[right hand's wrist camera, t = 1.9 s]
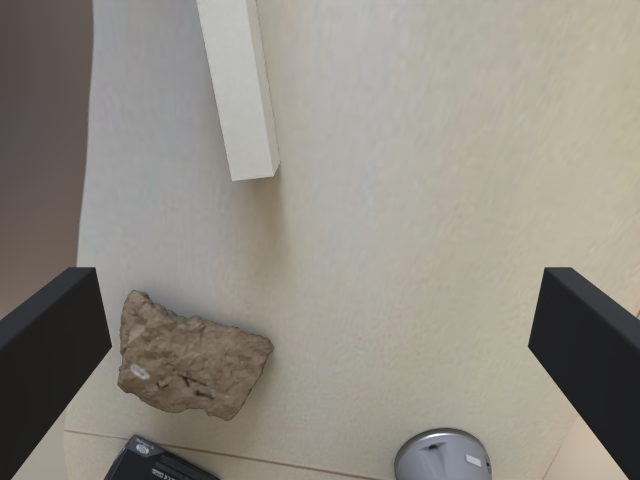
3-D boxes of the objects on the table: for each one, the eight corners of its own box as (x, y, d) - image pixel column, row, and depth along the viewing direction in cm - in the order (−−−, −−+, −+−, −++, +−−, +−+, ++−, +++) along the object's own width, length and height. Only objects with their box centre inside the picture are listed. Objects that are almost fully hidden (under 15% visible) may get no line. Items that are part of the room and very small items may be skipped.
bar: (280, 162, 52) (273, 176, 45) (244, 167, 53) (231, 181, 45) (247, -50, 44) (233, -76, 37) (205, -44, 45) (182, -69, 37)
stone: (96, 377, 60) (84, 401, 54) (133, 282, 58) (124, 297, 53) (237, 410, 66) (239, 435, 61) (273, 326, 65) (279, 344, 59)
